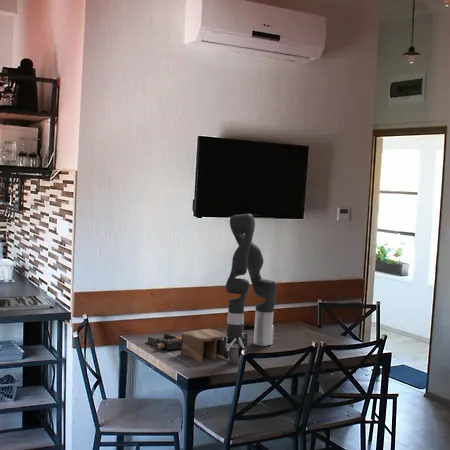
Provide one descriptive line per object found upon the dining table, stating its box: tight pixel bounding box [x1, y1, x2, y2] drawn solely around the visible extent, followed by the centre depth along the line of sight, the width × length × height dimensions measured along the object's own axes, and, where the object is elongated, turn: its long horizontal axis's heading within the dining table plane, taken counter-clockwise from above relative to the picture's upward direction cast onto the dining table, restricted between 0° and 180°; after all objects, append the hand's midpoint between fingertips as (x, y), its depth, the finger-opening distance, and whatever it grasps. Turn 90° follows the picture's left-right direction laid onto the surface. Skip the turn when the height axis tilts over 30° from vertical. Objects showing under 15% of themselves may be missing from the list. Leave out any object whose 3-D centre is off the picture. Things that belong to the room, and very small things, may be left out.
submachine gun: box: [147, 333, 182, 351], centre depth 311 cm, size 29×5×25 cm
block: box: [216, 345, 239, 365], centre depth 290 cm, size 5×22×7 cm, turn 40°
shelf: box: [180, 328, 230, 362], centre depth 293 cm, size 17×15×10 cm
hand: (233, 357), depth 283 cm, fingers open, 8 cm apart
